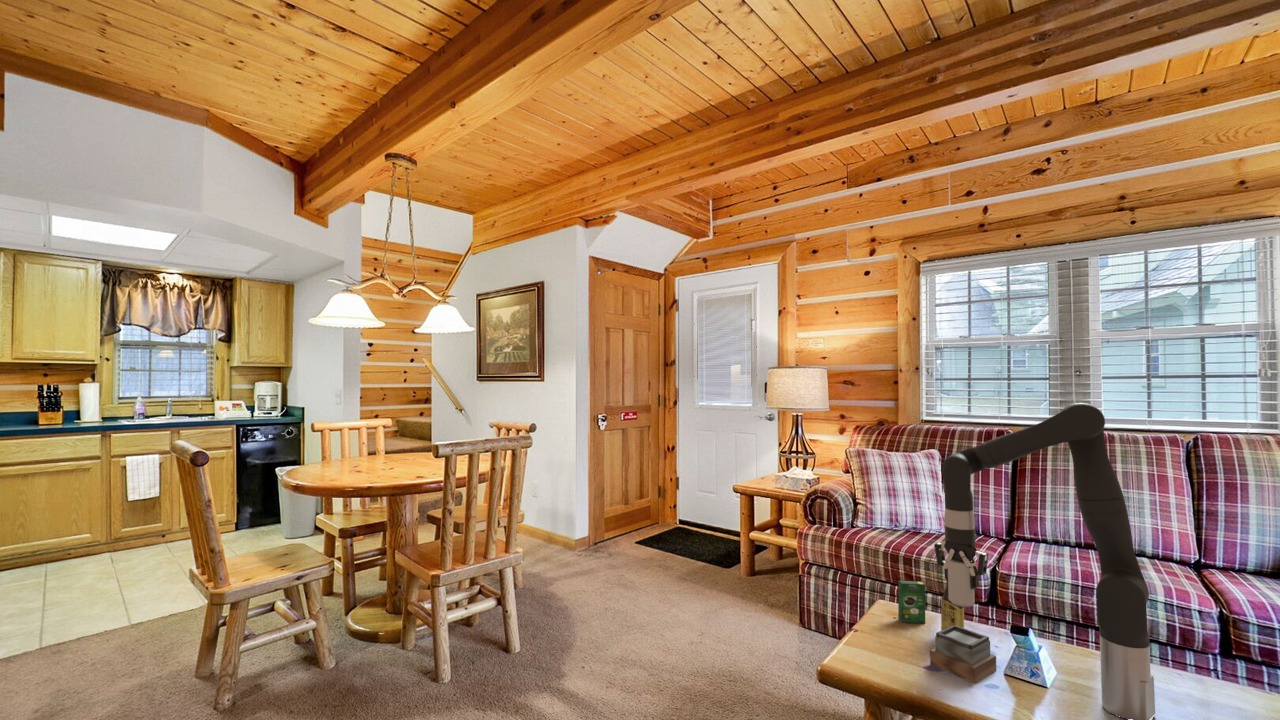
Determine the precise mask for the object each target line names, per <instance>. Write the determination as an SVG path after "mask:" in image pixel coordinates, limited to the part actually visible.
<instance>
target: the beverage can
mask: <svg viewBox="0 0 1280 720" xmlns="http://www.w3.org/2000/svg"><path fill="white" fill-rule="evenodd" d="M949 561H950V560H949ZM971 563H972V562H971ZM970 576H971V573H970V571H969V568H967V567H966V564H965V563H962V562H960V561H955V560H953V559H952V560H951V561H950V562H948V594H949V600H950V601H951V602H952V603H953V604H955V605H958V606H963V607H964V608H969V607H972V606H973V605H975V589H971V582H970Z"/></svg>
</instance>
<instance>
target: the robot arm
mask: <svg viewBox="0 0 1280 720" xmlns="http://www.w3.org/2000/svg"><path fill="white" fill-rule="evenodd" d="M1105 426H1106V418H1105V416H1104V414H1103V412H1102V411H1101V410H1100V409H1099V408H1097V407H1096V406H1094V405H1093V404H1090V403H1085V402H1075V403H1071V404H1067V405H1066V406H1065V407H1063V409H1062V410H1061V411H1060V412H1058V413H1056V414H1055V415H1053V416H1051V417H1049V418H1048V419H1045V420H1043V421H1041V422H1039V423H1037V424H1034V425H1031V426H1029V427H1025V428H1022V429H1020V430H1016V431H1013V432H1010V433H1007V434H1003V435H1001V436H998V437H995V438H993V439H990V440H989V439H988V440H986V441H985V442H982V443H980V444H979V445H977V446H974V447H970V448H967V449H964V450H961V451H957V452H955V453H953V454H950V455H949V456H947V457H946V458H945V459H944V460H943V462H942V470H941V471H942V480H943V481H942V482H943V486H944V516H943V517H944V518H943V522H944V540H945V542H944V543H943V542H936V543H934V553H935V559H936V565H938V566H941V567H943V569H944V579H945V581H947V582H948V562H950V561H951V560H952V559H953V560H955V561H960V562H962V563H965V564H966V567H967V568H969V571H970V573H971V576H970V582H971V589H974V590H977V589H978V588H979V587H980V578H979V577H980V576H983V575H985V574H987V572H988V571H987V570H988V560H989V554H988V553H987V552H982V551H979V550H977V547H976V519H975V514H974V512H975V511H974V497H973V491H972V490H971V489H972V488H971V486H972V485H971V483H972V482H971V475H974V474H975V473H978V472H980V471H984V470H986V469H993V468H997V467H999V466H1002V465H1005V464H1006V465H1007V464H1008V463H1011V462H1013V461H1017V460H1018V459H1021V458H1024V457H1025V456H1028V455H1031V454H1033V453H1036V452H1039V451H1040V450H1044V449H1046V448H1050V447H1053V446H1056V445H1060V444H1065V443H1067V445H1068V446H1069V450H1070V453H1071V457H1072V458H1071V459H1072V464H1073V476H1074V477H1073V478H1074V486H1075V491H1076V492H1075V493H1076V497H1077V502H1078V506H1079V511H1080V515H1081V517H1082V520H1083V523H1084V525H1085V527H1086V529H1087V531H1088V533H1089V535H1090V537H1091V538H1092V541H1093V542H1094V545H1095V548H1096V550H1097V554H1098V560H1099V566H1100V567H1099V568H1100V575H1101V577H1100V580H1099V581H1098V582H1097V585H1096V590H1095V592H1096V593H1095V595H1096V596H1095V597H1096V598H1095V599H1096V600H1095V601H1096V615H1097V616H1096V617H1097V625H1098V627H1099V648H1100V649H1099V651H1100V652H1099V653H1100V654H1099V655H1100V681H1101V682H1100V684H1101V705H1102V707H1104V708H1105V709H1106V710H1105V709H1104V708H1103V709H1104V710H1105V711H1106V712H1108V711H1109V712H1108V713H1110V714H1111V713H1112V714H1111V715H1113V714H1115V715H1117V716H1120V717H1122V718H1126V719H1133V720H1149V719H1150V718H1151V717H1152V716H1153V715H1154V714H1155V715H1156V704H1155V703H1156V697H1155V677H1154V676H1153V675H1151V674H1152V673H1151V652H1150V651H1151V649H1150V635H1149V630H1148V613H1147V603H1148V602H1149V598H1150V591H1149V587H1148V585H1147V584H1148V583H1147V582H1146V580H1145V578H1144V575H1143V572H1142V570H1141V567H1140V565H1139V561H1138V559H1137V556H1136V554H1135V550H1134V549H1135V548H1134V544H1133V536H1132V530H1131V529H1132V528H1131V525H1130V523H1131V522H1130V520H1129V514H1128V508H1127V503H1126V501H1125V497H1124V494H1123V490H1122V487H1121V485H1120V482H1119V481H1120V480H1119V479H1118V477H1117V474H1116V472H1115V470H1114V467H1113V465H1112V463H1111V461H1110V458H1109V456H1108V451H1107V445H1106V439H1105V432H1104V429H1105ZM945 551H946V552H947V553H948V554H947V555H946V556H945ZM975 557H976V559H977V560H978V564H977V562H976V560H975ZM949 560H950V561H949ZM971 562H972V563H971ZM1115 715H1114V716H1115ZM1117 716H1116V717H1117ZM1120 717H1119V718H1120ZM1122 718H1121V719H1122Z"/></svg>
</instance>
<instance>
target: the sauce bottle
mask: <svg viewBox="0 0 1280 720" xmlns="http://www.w3.org/2000/svg"><path fill="white" fill-rule="evenodd" d="M945 581H946V583H945V584H946V586H945V589H944V591H943V595H942V597H941V611H940V613H941V614H940V615H941V618H940V619H941V620H940V622H941V623H940V624H941V627H940V631H941V630H943V629H946V628H948V627H950V626H952V625H956V626H959V627H962V628H965V607H963V606H958V605H955V604H953V603H952V602H951V601H950V600H949V594H948V582H947V580H945Z"/></svg>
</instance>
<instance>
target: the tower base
mask: <svg viewBox="0 0 1280 720" xmlns="http://www.w3.org/2000/svg"><path fill="white" fill-rule="evenodd" d="M934 638H935V639H934V641H935V642H934V644H935V646H934V648H932V649H930V650H929V654H930V655H929V657H930V658H929V660H930V661H929V663H930V665H931V666H932V667H935V668H937V669H940V670H943V671H944V672H947V673H949V674H952V675H954V676H956V677H958V678H962V679H964V680H966V681H968V682H970V683H972V684H976V683H978V682H979V681H981V680H983V679H985V678H987V677H988V676H990V675H991V674H993V673H995V672H997V655H995V654H992V653H991V640H990V637H989V636H987V635H984V634H982V633H979V632H976V631H973V630H969V629H968V628H965V627H964V628H962V627H959V626H956V625H952V626H950V627H948V628H946V629H943V630H941V629H940V631H937V632H936V633H935V636H934Z"/></svg>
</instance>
